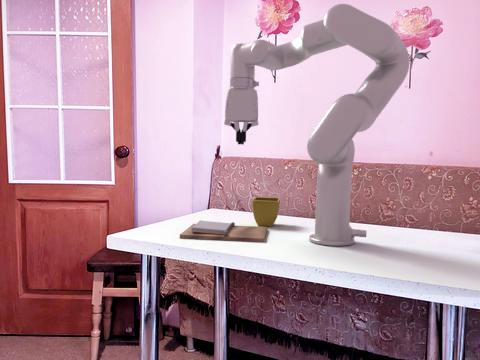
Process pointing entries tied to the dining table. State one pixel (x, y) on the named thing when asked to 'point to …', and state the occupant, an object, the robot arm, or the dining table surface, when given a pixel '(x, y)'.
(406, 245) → the dining table surface
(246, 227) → the hinge board
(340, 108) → the robot arm
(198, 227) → the tile
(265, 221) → the flower pot
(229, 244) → the dining table surface
